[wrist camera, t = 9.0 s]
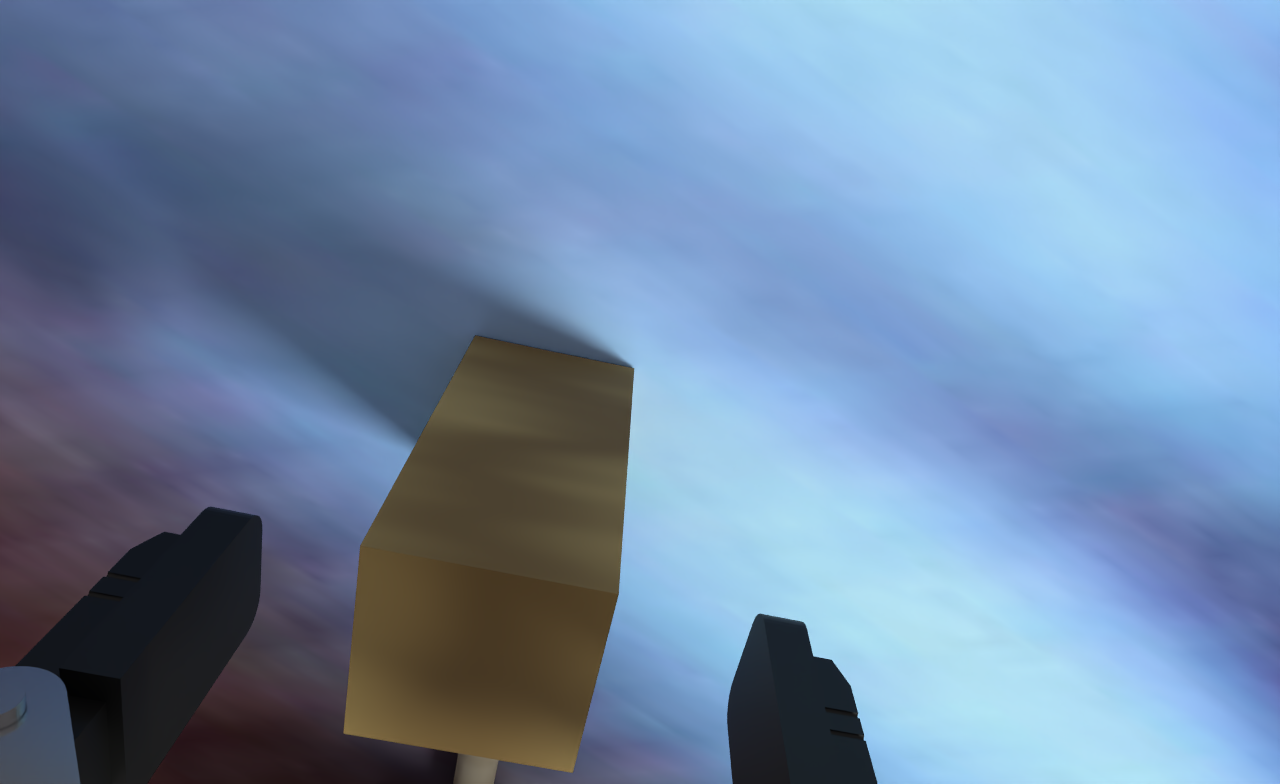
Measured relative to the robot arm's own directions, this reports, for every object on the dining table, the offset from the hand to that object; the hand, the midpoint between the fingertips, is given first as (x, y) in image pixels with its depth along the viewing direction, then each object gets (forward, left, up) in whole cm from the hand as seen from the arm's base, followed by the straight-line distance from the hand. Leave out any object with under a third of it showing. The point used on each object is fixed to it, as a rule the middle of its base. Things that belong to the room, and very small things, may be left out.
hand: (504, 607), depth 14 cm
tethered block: (0, +7, -5) cm, 8 cm away
